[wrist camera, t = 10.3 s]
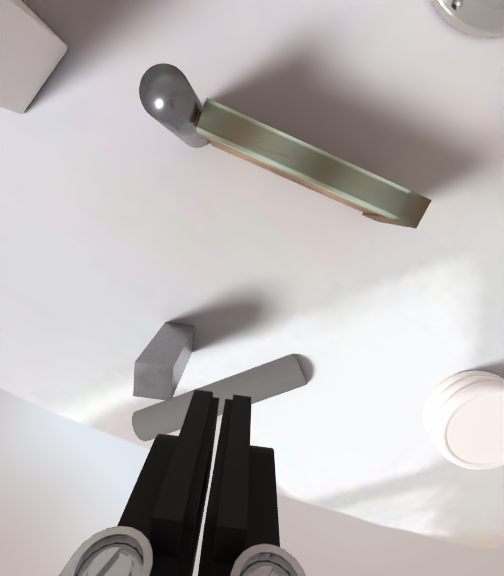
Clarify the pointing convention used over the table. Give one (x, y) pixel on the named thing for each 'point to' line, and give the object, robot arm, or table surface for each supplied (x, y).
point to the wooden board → (310, 166)
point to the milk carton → (25, 55)
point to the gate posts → (183, 123)
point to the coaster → (468, 419)
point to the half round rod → (221, 395)
